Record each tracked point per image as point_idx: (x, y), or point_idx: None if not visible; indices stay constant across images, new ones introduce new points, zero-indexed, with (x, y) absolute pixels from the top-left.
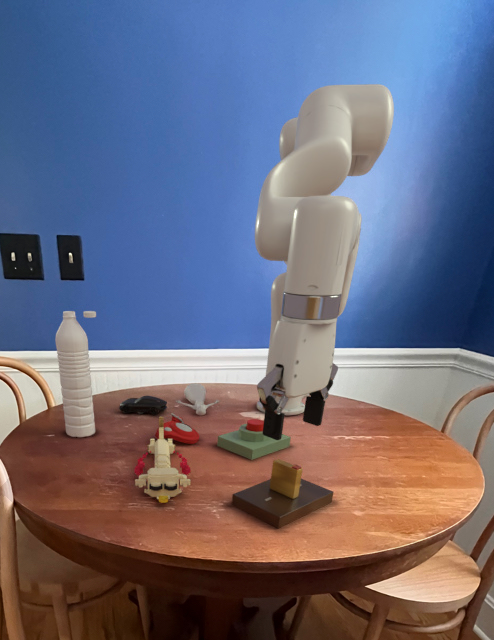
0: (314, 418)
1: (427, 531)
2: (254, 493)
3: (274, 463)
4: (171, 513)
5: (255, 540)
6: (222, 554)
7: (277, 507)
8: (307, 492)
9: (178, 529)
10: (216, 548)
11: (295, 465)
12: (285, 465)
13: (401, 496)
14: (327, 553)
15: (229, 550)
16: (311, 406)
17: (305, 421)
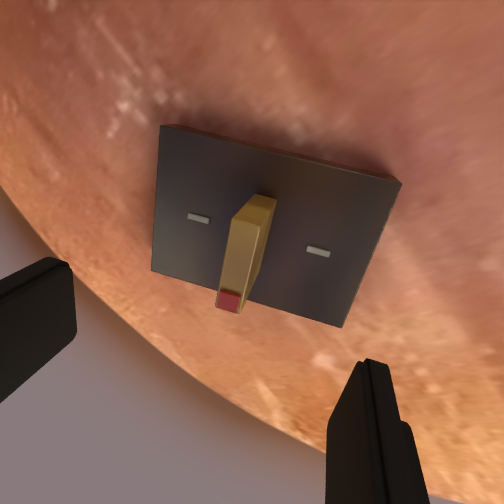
0: (335, 437)
1: (324, 450)
2: (203, 173)
3: (230, 224)
4: (37, 20)
5: (104, 242)
6: (34, 216)
7: (182, 251)
8: (297, 281)
9: (14, 93)
10: (36, 198)
11: (233, 296)
12: (223, 267)
13: (461, 420)
14: (158, 344)
15: (49, 220)
16: (347, 486)
17: (353, 372)
